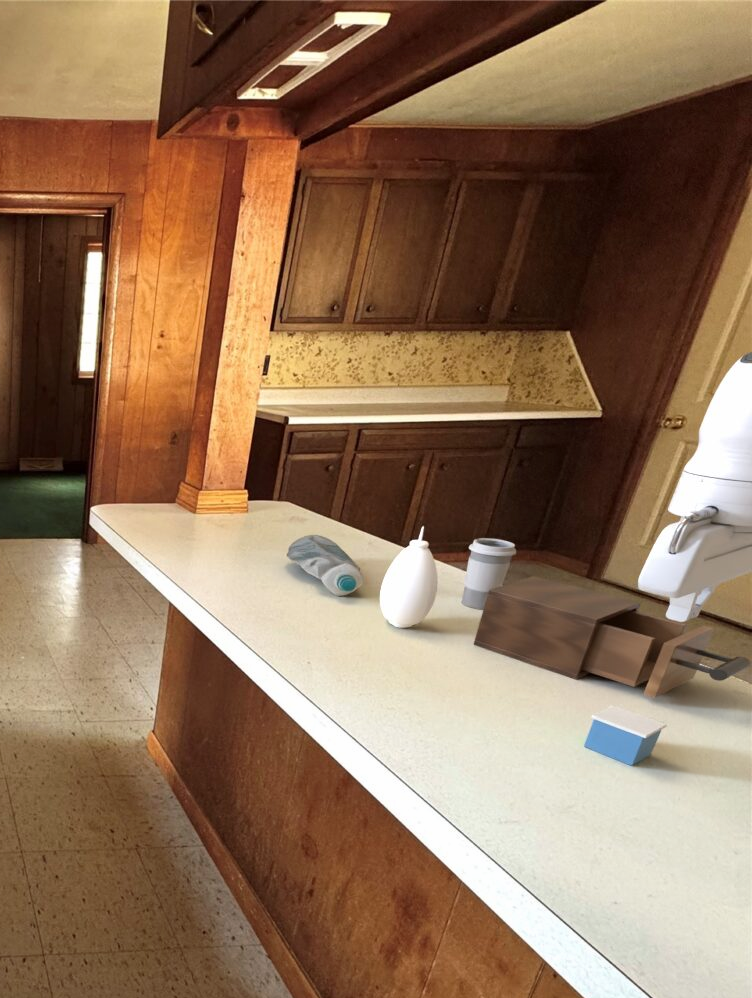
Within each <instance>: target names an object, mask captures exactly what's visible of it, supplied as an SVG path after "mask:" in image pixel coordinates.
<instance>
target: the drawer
mask: <svg viewBox="0 0 752 998" xmlns="http://www.w3.org/2000/svg"><path fill="white" fill-rule="evenodd" d="M687 624H688V623H684V622H679V621H675V620H671V619H668V618H664V617H660V616H656V615H652V614H648V613H644V612H640V611H638V612H637V611H633V610H630V611H628V612H625V613H623V614H620V615H618V616H615V617H613V618H610V619H607V620H605V621H602V622H600V623H598V626H597V628H596V631H595V634H594V637H593V640H592V642H591V645H590V648H589V651H588V654H587V656H586V659H585V662H584V665H583V668H582V670H584V671H587V672H590V673H589V674H594V675H596V676H600V677H603V678H605V679H609V680H612V681H616V682H618V683H621V684H624V685H627V686H630V687H633V688H634V687H636V686H638V685H641V684H643V683H645V682H647V683H646V687H645V689H644V691H643V695H645V696H648V697H651V698H657V697H659V696H661V695H663V694H665V693H667V692H669V691H671V690H673V689H675V688H676V687H679V686H681V685H683V684H685V683H686V682H687V683H688V682H689V681H690V680H693V679H694V677H695V675H696V673H697V671H698V672H702V673H706V674H709V677H710V678H711V679H713V680H714V681H718V682H722V681H725V680H727V679H729V678H730V677H733V676H735V675H736V674H738V673H740V672H742V671H744V670H746V669H748V668H749V667H750V666H751V661H750V660H749V658H747V657H744V656H736V657H733V658H732V657H728V656H725V655H721V654H717V653H714V652H710V651H706V650H707V648H708V645H709V643H710V641H711V638H712V636H713V635H714V634H713V633H714V632H715V627H711V626H707V625H700V626H699V627H697V628H696V627H695V628H694V629H691V630H690V631H687V632H685V630H686V628H687ZM703 657H705V658H709V659H713V660H715V661H720V662H723V663H722V664H720V665H718V666H716V667H714V668H712V667H708V666H704V665H701V661H702V659H703Z"/></svg>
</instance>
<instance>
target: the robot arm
mask: <svg viewBox="0 0 752 998" xmlns="http://www.w3.org/2000/svg"><path fill="white" fill-rule="evenodd" d="M667 511H668V512H669V513H670V514H672V515H675V516H678V517H680V518H679V521H676V522H674V523H670V524H668V525H667V526H666V527H664V528H663V529H662V530H661V532H660V534H659V535H658V537H657V539H656V540H655V542H654V544H653V545H652V548H651V550H650V552H649V553H648V554H649V555H648V556H647V558H646V560H645V562H644V565H643V566H642V569H641V571H640V574H639V576H638V578H637V587H638V590H640V591H642V592H645V593H649V594H653V595H657V596H661V597H662V596H663V597H665V598H669V606H668V608H667V610H666V612H665V618H666V619H668V620H672V621H676V622H680V623H684V622H687V621H689V620H692V619H695V618H697V617H698V616H699V615H700V613H701V610H702V609H703V605H705V604H706V602H707V601H708V600H709V598H710V597H711V596H712V594H713V593H714V592H715V591H716V590H717V587H718V585H719V584H722V583H725V582H728V581H730V580H733V579H736V578H739V577H741V576H744V575H747V574H752V351H750V352H748V353H746V354H744V355H742V356H741V357H740V358H739V359H737V360H736V362H735V363H734V364H732V365H731V367H730V368H729V369H728V371H727V372H726V374H725V375H724V377H723V378H722V380H721V382H720V383H719V384H718V386H717V388H716V390H715V393H714V394H713V396H712V398H711V400H710V402H709V405H708V407H707V410H706V411H705V414H704V417H703V419H702V422H701V425H700V427H699V430H698V444H697V447H696V449H695V452H694V454H693V455H692V456H691V458H690V459H689V460H688V461H687V463H686V464H685V466H684V467H683V470H682V472H681V475H680V477H679V480H678V482H677V484H676V487H675V489H674V492H673V495H672V498H671V500H670V503H669V505H668V508H667Z"/></svg>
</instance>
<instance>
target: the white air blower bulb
mask: <svg viewBox="0 0 752 998" xmlns="http://www.w3.org/2000/svg"><path fill="white" fill-rule="evenodd" d="M424 532H425V526H424V525H423V526H422V527H421V529H420V533H419V536H418V539H412V540H410V541H409V545H408V546H407V547H405V548H403V550H402V551H401V552H400V553H398V555H397V556H395V559H393V562H391V564H390V566H389V567H388V569H387V571H386V573H385V575H384V577H383V581H382V583H381V587H380V592H379V605H380V610H381V612H382V615H383V617H384V618H385V619H386V620H388V623H389V624H391V625H393V627H395V628H398V629H406V628H411V627H413V625H418V624H419V623H422V621H423V620H424V619H425V618H426V617H427V616H428V614H429V613H430V612H431V609H432V607H433V606H434V603H435V600H436V597H437V591H438V582H439V581H438V571H437V565H436V562H435V558H434V556H433V553H432V552H431V549H430V548H429V545H430V544H429V542H428V541H427V540H423V537H424Z"/></svg>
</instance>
